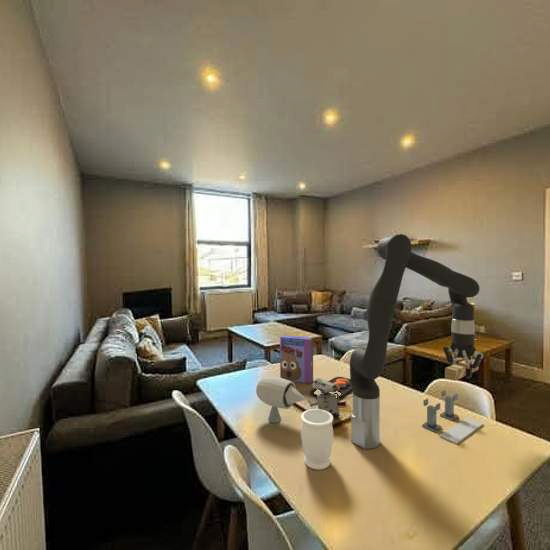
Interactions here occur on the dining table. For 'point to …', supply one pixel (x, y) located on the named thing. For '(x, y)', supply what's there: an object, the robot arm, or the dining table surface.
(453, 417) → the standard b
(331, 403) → the figurine
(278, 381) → the jet engine
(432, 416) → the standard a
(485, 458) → the dining table surface
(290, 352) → the cereal box
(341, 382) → the sushi plate
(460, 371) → the rail
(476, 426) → the felt pad
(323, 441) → the jar
